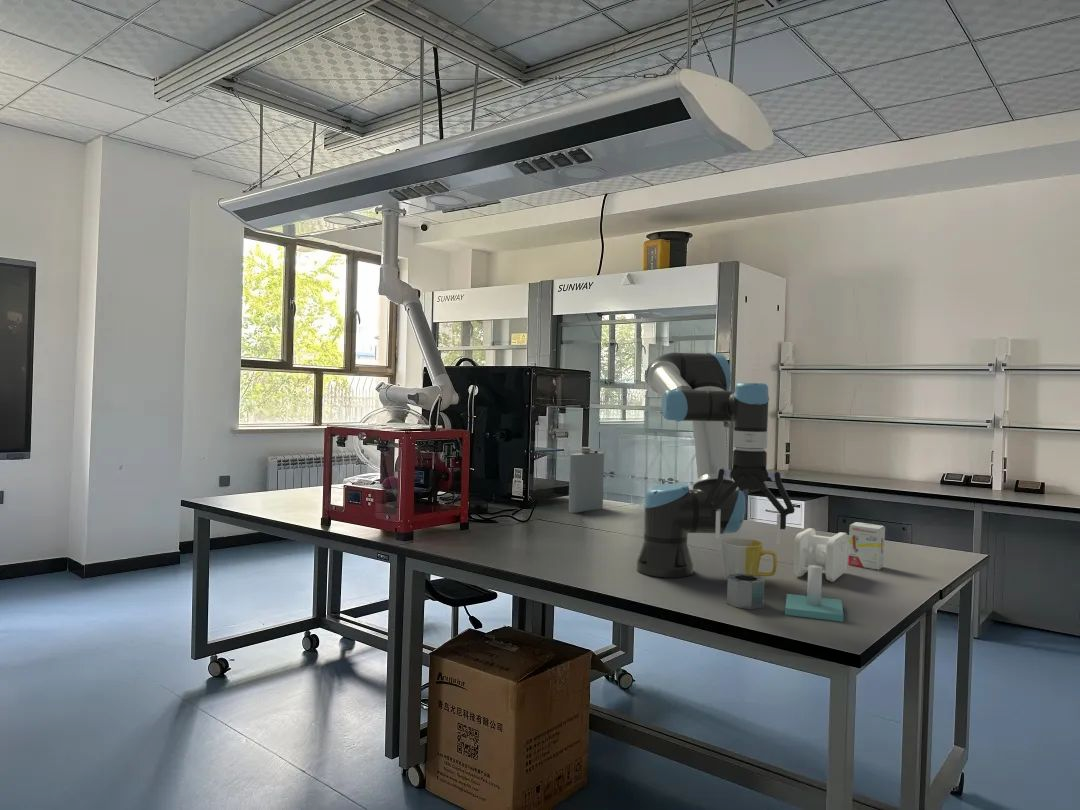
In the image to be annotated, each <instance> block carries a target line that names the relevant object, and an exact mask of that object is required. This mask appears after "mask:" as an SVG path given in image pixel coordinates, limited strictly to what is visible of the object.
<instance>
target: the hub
mask: <svg viewBox="0 0 1080 810" xmlns="http://www.w3.org/2000/svg"><path fill="white" fill-rule="evenodd" d="M764 597H765V577H763V576H757V575H752V574H743V573H738V574H729V576H728V578H727V591H726V604H727V603H728V604H727V605H729V604H730V606H732V607H734V606H735V607H734V608H736V607H738V608H739V609H746V610H756V609H763V608H764V603H765V602H764V599H765V598H764ZM738 608H737V609H738Z"/></svg>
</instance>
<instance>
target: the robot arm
mask: <svg viewBox="0 0 1080 810" xmlns="http://www.w3.org/2000/svg"><path fill="white" fill-rule="evenodd" d="M731 377H732V372H731V367H730V364H729V362H728V360H727V358H726V357H725V356H724V355H723V354H720V353H712V352H706V353H703V352H702V353H700V352H699V353H698V352H697V353H696V352H695V353H694V352H668V353H664V354H662V355H660V356H657V357H656V358H654V359H653V360H652V361H651V362H650V363H649V365H648V366H647V368H646V371H645V381H646V383H647V385H648V387H649V388H650V389H651V390H652V391H653V392H655V393H657V394H658V395H660V397H661V411H662V416H663V418H664V419H665V420H667V421H676V422H685V421H686V422H692V426H693V427H692V428H693V430H692V431H693V440H694V451H695V452H694V453H695V461H696V474H697V475H696V476H697V480H696V481H695V482H694V483H693V484H692V489H690V487H689V485H688V484H685V483H667V484H665V483H664V484H660V485H659V484H658V485H655V486H652V487H649V488H648V489H647V490H646V491H645V494H644V503H643V504H644V505H643V507H644V522H643V523H644V524H643V527H644V528H643V543H642V546H641V549H640V551H639V554H638V557H637V559H636V571H638V572H639V573H641V574H643V575H647V576H651V577H656V578H657V577H658V578H675V579H676V578H683V577H688V576H691V575H693V573H694V562H693V559H692V556H691V552H690V549H689V545H688V534H692V533H693V534H715V535H714V536H715V540H719V539H720V538H721V535H724V534H735V533H737V532H738V531H740V529H741V528H742V525H743V523H744V519H745V513H746V496H745V492H744V491H742V490H750V491H757V490H760V491H761V492H762V493H763V494H764V496H765V497H766V498H767V500H768V501H769V502H770V503H771V504H772V506H773V507H774V508H775V509H776V510H777V511H778V513H777V515H776V539H775V541H776V542H775V543H776V545H781V530H784V531H785V530H786V526H787V524H786V523H787V515H791V514H794V513H795V510H796V509H795V507H794V504H793V503H792V501H791V498H790V496H789V494H788V492H787V490H786V488H785V486H784V483H783V482H782V477H781V471H778V470H776V471H774V472H773V471H772V472H768V469H767V463H768V460H767V458H768V453H767V450H766V449H767V448H768V423H769V419H768V418H769V401H770V397H769V387H768V385H767V384H766V383H764V382H763V383H762V382H737V383H736V384H735V386H734V390H730V389H731V385H732V379H731ZM724 422H729V423H730V422H732V423H733V444H732V446H733V448H735V449H734V450H733V452H732V468H731V470H730V469H729V464H728V463H729V462H728V452H727V443H726V435H725V423H724ZM768 478H770V479H771V481H772V483H773V482H774V483H775V485H776V488H777V490H778V492H779V494H780V496H781V499H783V502H784V505H785V507H786V508H785V507H784V506H783V505H782V504H781V502H780V501H779V500H778V499H777V498H776V496H775V495H774V494H773V493H772V491H771V490H770V489H769V488H768V486H767V484H766V483H765V482H766V481H767V479H768ZM738 488H739V489H738Z"/></svg>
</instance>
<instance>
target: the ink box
mask: <svg viewBox="0 0 1080 810" xmlns="http://www.w3.org/2000/svg"><path fill="white" fill-rule="evenodd" d="M848 537H849V541H848V556H847V566H848V565H849V566H854V567H859V568H866V569H872V570H876V569H877V570H881V569H882V568H884V564H885V563H884V561H885V559H884V557H885V540H886V539H885V537H886V526H884V525H880V524H873V523H865V522H857V521H855V522H853V523H851V524H849V533H848Z"/></svg>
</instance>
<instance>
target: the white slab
mask: <svg viewBox="0 0 1080 810" xmlns="http://www.w3.org/2000/svg"><path fill="white" fill-rule="evenodd" d="M604 461H605V453H604V452H601V451H600V452H599V450H598V449H592V448H591V447H588V446H582V447H581V452H579V453H578V452H577V453H570V454H569V480H568V482H569V484H568V485H569V486H568V513H571V514H576V513H577V514H578V513H581V512H588V511H594V510H602V509H604V474H605V473H604V468H605V465H604V464H605V462H604Z"/></svg>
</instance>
